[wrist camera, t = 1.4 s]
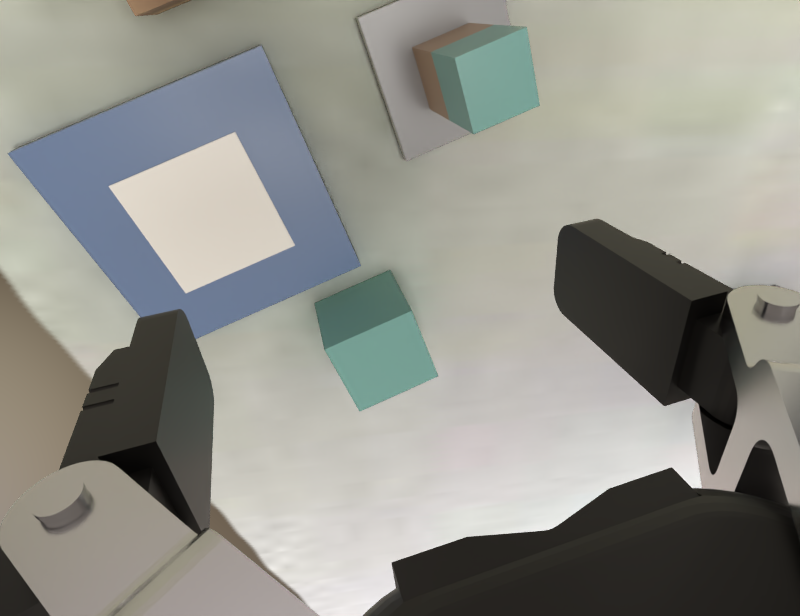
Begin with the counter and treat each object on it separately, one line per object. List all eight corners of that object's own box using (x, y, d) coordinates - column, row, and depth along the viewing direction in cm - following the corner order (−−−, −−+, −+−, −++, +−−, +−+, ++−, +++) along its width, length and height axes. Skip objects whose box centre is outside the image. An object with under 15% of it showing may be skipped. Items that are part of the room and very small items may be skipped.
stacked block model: (492, -41, 23) (567, -56, 18) (520, 107, 27) (588, 132, 22) (355, 17, 23) (388, 21, 18) (403, 158, 27) (442, 196, 22)
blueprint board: (261, 44, 23) (261, 45, 22) (358, 260, 29) (361, 266, 29) (14, 149, 22) (6, 154, 22) (170, 343, 29) (167, 352, 28)
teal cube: (389, 269, 30) (411, 310, 26) (414, 329, 33) (438, 375, 29) (314, 302, 30) (324, 349, 26) (345, 360, 33) (359, 411, 29)
